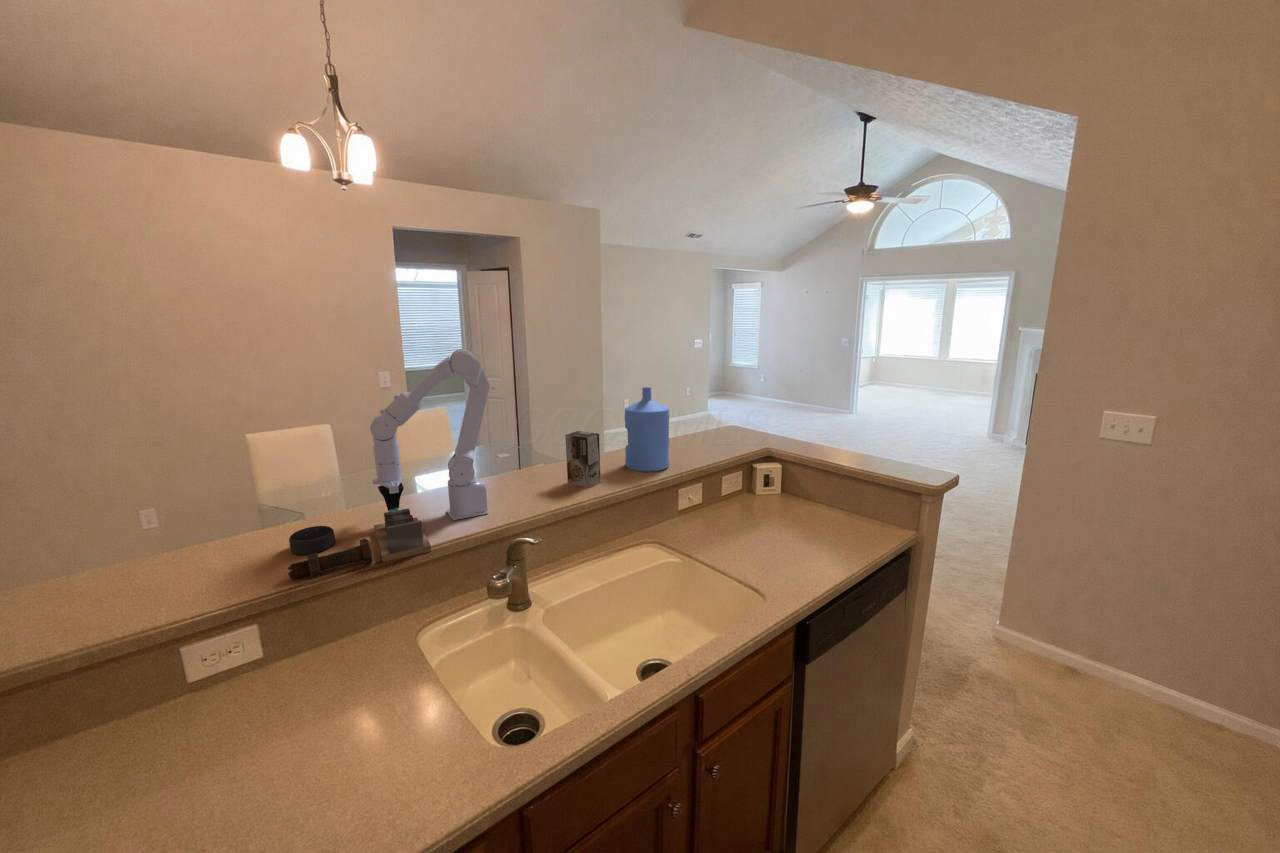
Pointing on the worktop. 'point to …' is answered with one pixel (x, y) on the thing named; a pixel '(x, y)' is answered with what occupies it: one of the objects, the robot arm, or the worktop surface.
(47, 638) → the worktop surface
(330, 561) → the bolt
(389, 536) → the bearing rig
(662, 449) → the water jug
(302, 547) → the smart speaker
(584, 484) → the coffee box
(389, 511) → the shaft
